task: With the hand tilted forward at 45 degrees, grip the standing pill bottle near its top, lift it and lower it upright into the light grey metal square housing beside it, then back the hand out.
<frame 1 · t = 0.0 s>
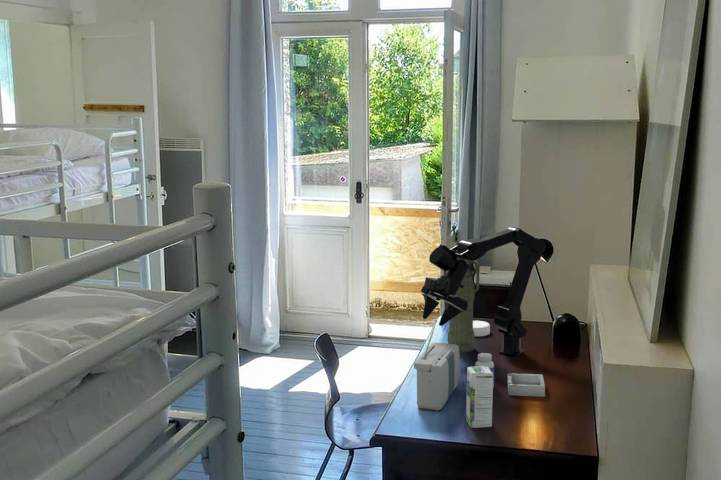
hand: (431, 322, 240), 15 cm above the table, tool tilted 35°, fingers open, 9 cm apart
housing: (525, 389, 223), on the table
syrup box: (479, 424, 200), on the table
stereo radio cassette player: (437, 398, 218), on the table
pill bottle: (484, 387, 226), on the table
thermos: (461, 349, 261), on the table
white round tub: (476, 333, 280), on the table
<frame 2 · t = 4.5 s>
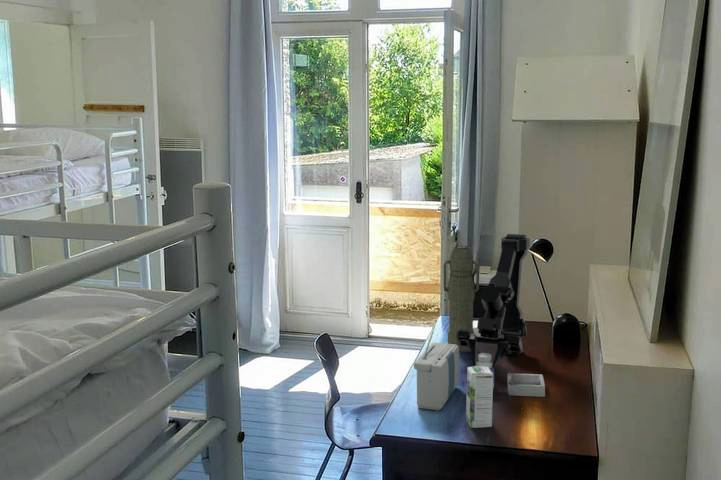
hand: (483, 366, 223), 7 cm above the table, tool tilted 45°, fingers closed on pill bottle, 5 cm apart
pill bottle: (484, 387, 226), on the table, touching gripper
everything else where it was.
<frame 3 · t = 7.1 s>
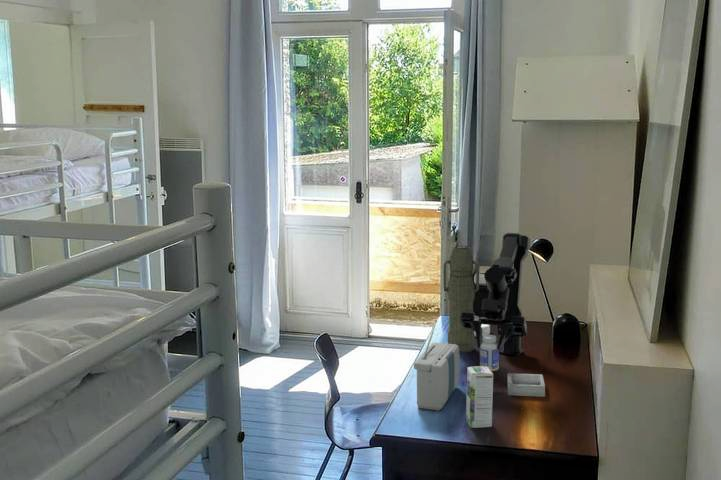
hand: (488, 348, 222), 12 cm above the table, tool tilted 45°, fingers closed on pill bottle, 5 cm apart
pill bottle: (489, 369, 224), point 5 cm above the table, touching gripper
everything else where it was.
when the fingers open (8 cm above the table, at t = 10.1 s): pill bottle drops 1 cm, resting in housing.
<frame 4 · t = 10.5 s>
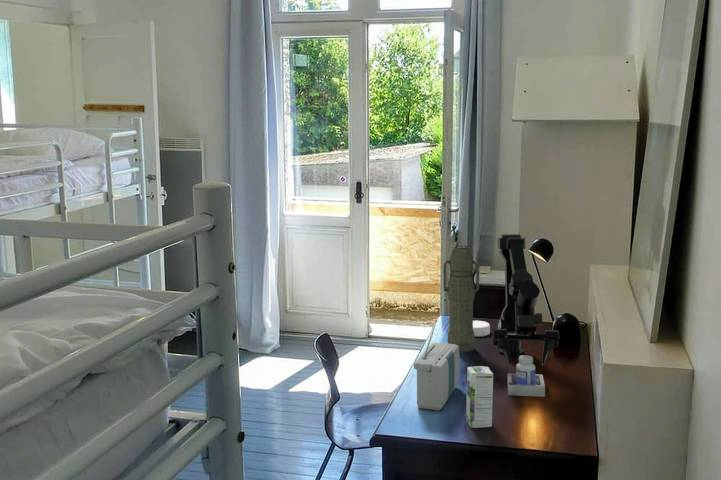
hand: (526, 364, 220), 8 cm above the table, tool tilted 45°, fingers open, 9 cm apart
pill bottle: (525, 390, 223), resting in housing
everything else where it was.
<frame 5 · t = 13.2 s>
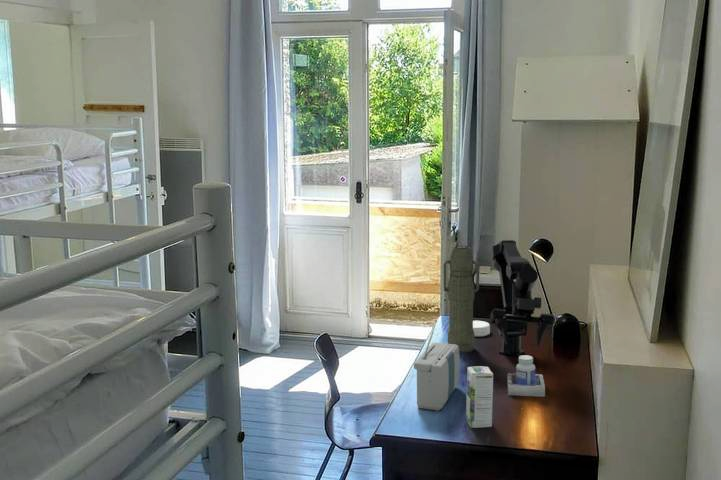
hand: (522, 345, 230), 11 cm above the table, tool tilted 40°, fingers open, 9 cm apart
nothing on the table moved.
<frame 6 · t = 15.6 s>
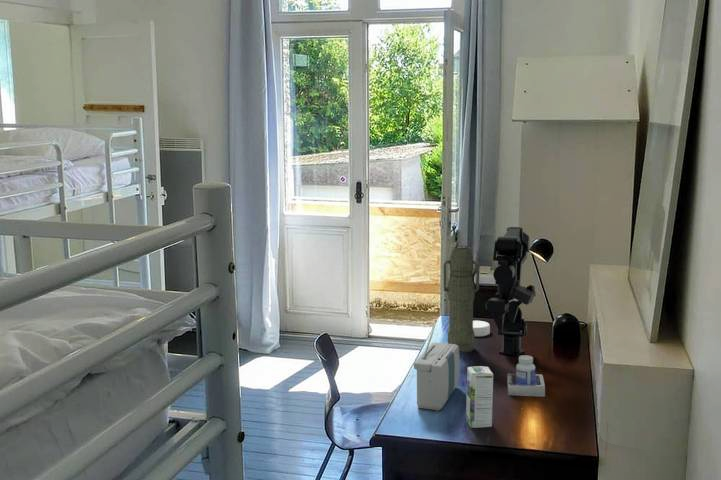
hand: (506, 326, 241), 13 cm above the table, tool pointing down, fingers open, 9 cm apart
nothing on the table moved.
at the end: pill bottle 0.1 cm off-centre on the housing, point 0.0 cm above the housing's base; pill bottle tilted 0°; the gripper is holding nothing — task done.
